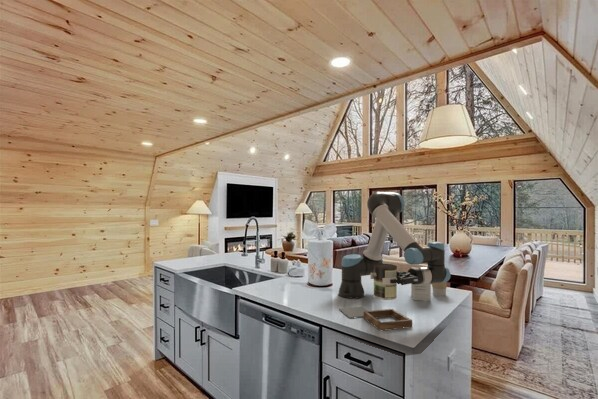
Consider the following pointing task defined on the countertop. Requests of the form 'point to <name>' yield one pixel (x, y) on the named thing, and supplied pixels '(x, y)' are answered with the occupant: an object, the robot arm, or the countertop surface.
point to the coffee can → (379, 289)
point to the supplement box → (421, 291)
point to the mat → (353, 311)
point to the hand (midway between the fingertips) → (376, 278)
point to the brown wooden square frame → (391, 324)
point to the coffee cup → (439, 288)
